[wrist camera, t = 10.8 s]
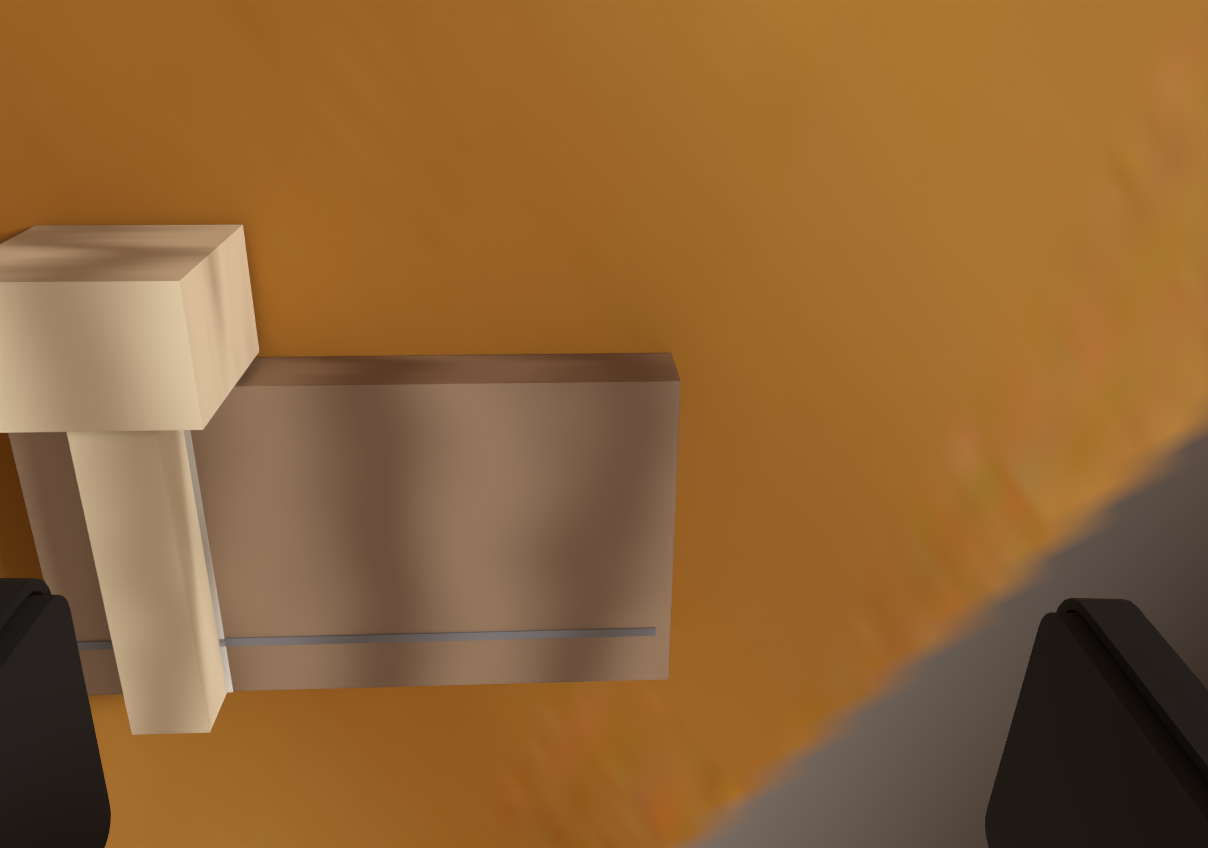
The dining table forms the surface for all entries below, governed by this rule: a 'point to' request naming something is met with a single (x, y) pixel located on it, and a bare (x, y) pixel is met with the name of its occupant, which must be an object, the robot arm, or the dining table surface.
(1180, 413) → the dining table surface
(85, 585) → the walnut board
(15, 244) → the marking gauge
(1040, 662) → the robot arm
